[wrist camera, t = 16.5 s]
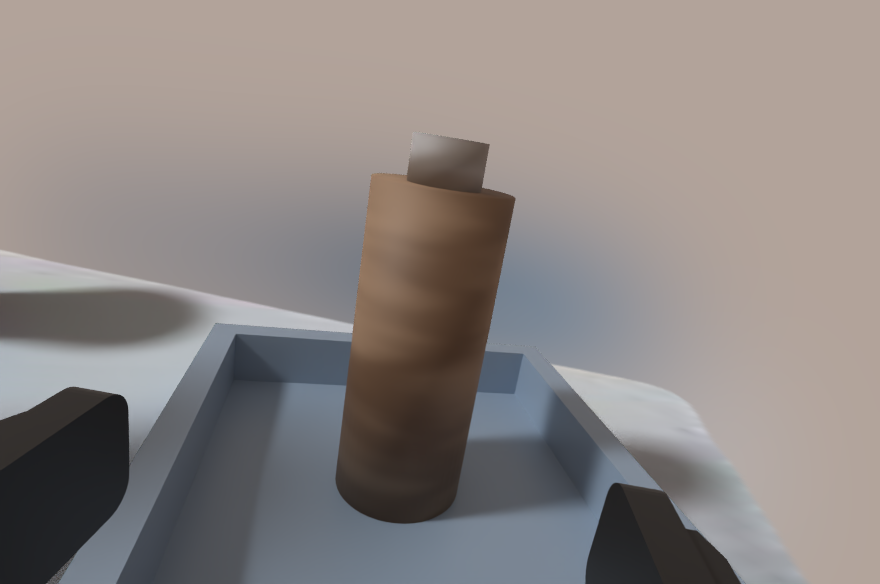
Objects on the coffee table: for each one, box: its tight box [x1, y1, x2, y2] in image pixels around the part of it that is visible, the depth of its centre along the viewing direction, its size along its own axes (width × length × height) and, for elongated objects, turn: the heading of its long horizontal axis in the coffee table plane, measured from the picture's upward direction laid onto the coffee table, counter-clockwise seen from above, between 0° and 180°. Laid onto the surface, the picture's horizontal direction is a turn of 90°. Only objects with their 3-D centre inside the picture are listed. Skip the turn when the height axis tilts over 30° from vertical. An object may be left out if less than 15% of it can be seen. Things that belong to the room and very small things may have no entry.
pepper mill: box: [335, 132, 515, 524], centre depth 19 cm, size 5×5×14 cm
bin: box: [58, 323, 746, 584], centre depth 21 cm, size 18×18×3 cm
